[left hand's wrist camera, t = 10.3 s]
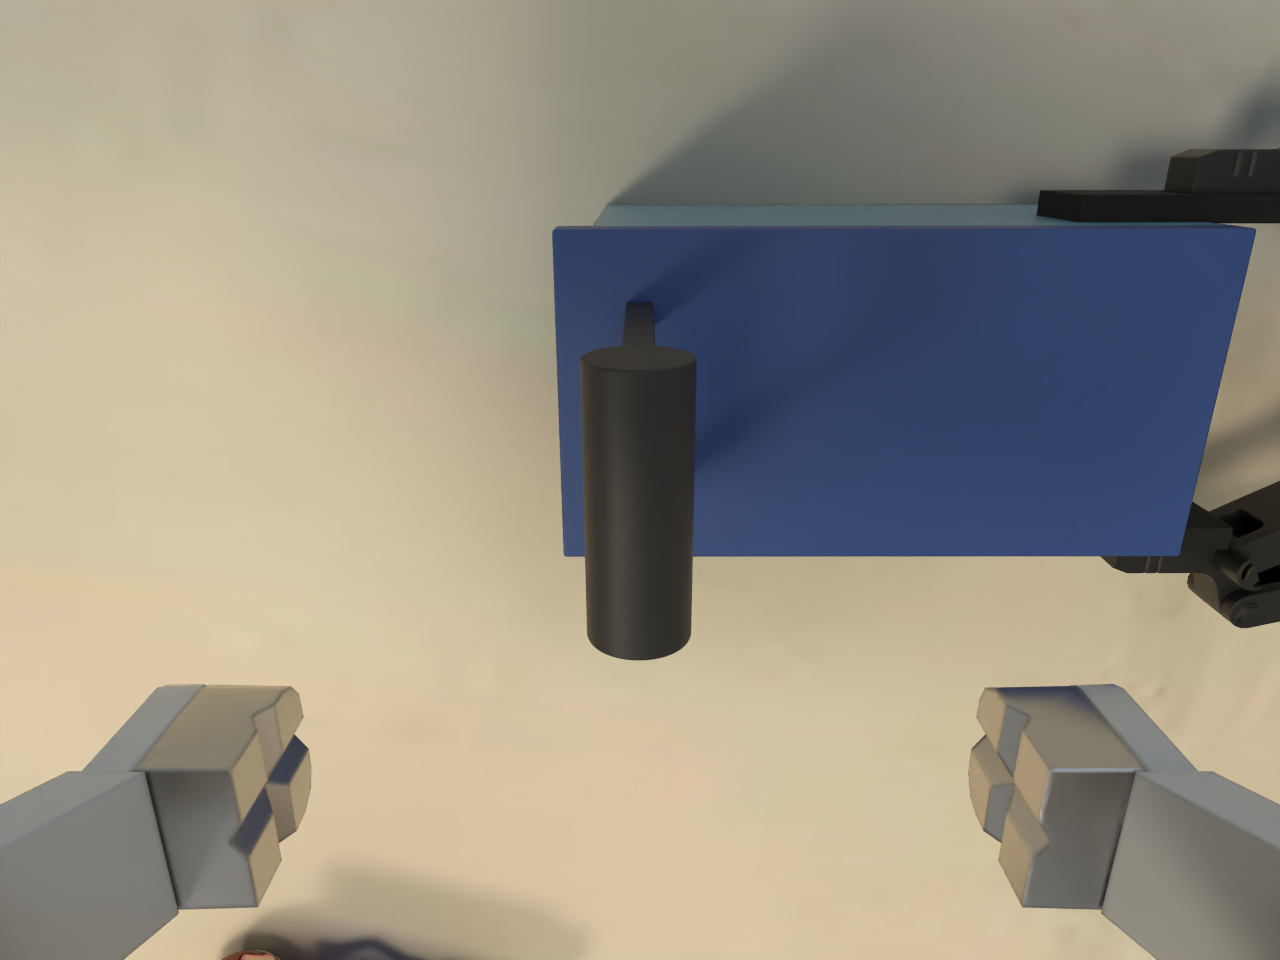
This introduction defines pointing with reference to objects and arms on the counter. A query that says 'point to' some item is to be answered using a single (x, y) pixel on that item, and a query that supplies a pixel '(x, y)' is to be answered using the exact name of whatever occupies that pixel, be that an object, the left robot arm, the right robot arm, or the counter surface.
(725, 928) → the counter surface
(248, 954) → the figurine character
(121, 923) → the left robot arm
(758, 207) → the chest
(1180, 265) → the lid
